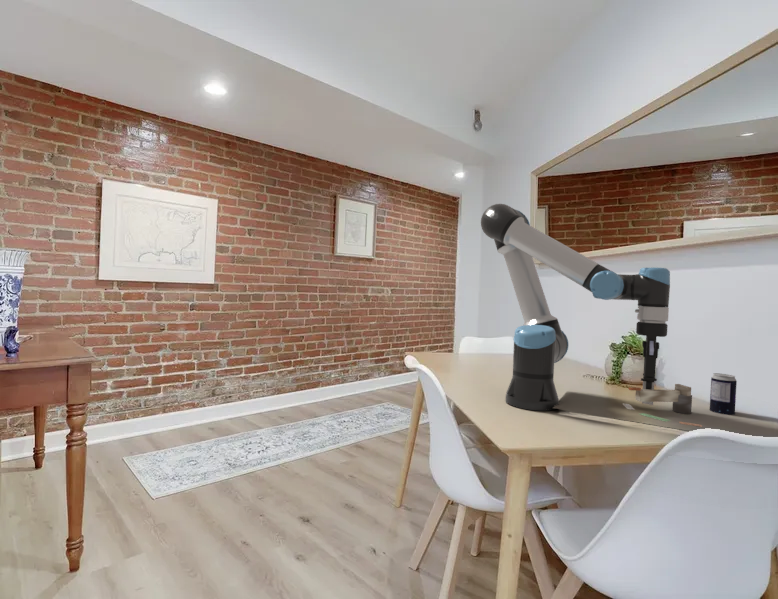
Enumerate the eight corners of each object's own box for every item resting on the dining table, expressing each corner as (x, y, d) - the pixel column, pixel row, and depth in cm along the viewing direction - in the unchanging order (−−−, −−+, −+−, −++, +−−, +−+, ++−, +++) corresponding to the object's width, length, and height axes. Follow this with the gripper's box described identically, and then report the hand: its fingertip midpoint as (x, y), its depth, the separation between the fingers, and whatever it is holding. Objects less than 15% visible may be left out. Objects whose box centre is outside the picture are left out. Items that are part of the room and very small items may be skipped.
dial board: (613, 418, 115) (614, 413, 115) (617, 404, 130) (617, 400, 130) (705, 434, 104) (705, 428, 104) (697, 416, 120) (698, 411, 120)
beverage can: (739, 420, 118) (741, 377, 117) (716, 418, 119) (718, 376, 118) (727, 414, 123) (729, 373, 123) (705, 413, 124) (707, 372, 124)
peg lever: (633, 413, 115) (635, 386, 115) (623, 409, 120) (624, 383, 120) (695, 414, 117) (696, 387, 117) (682, 409, 122) (684, 384, 121)
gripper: (636, 319, 128) (632, 396, 129) (637, 322, 117) (632, 406, 118) (665, 321, 125) (661, 400, 125) (669, 324, 113) (664, 411, 114)
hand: (647, 403), depth 121 cm, fingers closed
